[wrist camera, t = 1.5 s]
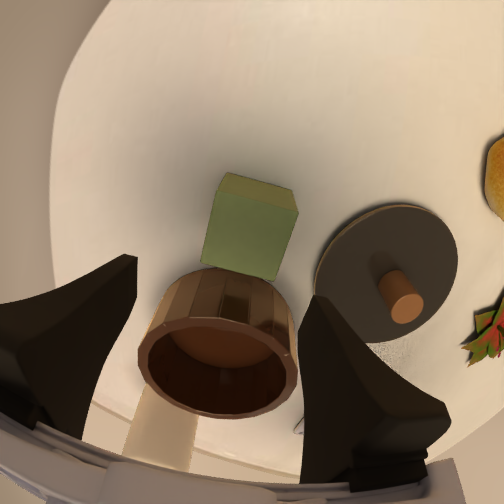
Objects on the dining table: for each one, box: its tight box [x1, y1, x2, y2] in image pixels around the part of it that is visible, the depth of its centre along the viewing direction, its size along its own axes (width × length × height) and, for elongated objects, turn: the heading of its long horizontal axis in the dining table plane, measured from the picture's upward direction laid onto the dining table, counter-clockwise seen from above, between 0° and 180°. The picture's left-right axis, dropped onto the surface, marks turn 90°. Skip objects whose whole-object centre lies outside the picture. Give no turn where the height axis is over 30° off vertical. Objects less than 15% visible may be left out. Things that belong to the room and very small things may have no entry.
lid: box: [314, 205, 458, 343], centre depth 21 cm, size 13×13×4 cm
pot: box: [138, 268, 298, 419], centre depth 23 cm, size 12×12×6 cm
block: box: [200, 173, 299, 281], centre depth 19 cm, size 4×4×4 cm
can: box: [122, 382, 199, 473], centre depth 25 cm, size 6×6×12 cm
